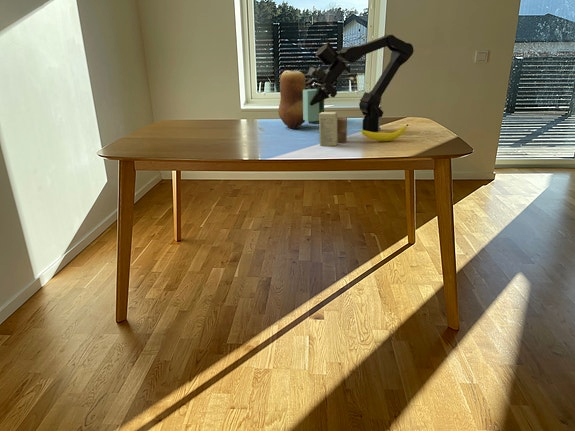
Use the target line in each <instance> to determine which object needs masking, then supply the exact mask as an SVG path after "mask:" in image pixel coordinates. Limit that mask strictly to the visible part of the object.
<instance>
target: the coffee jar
mask: <svg viewBox="0 0 575 431" xmlns="http://www.w3.org/2000/svg"><path fill="white" fill-rule="evenodd" d="M307 89H309V85H308V84H307ZM321 112H325V100H322V101H320V102H319V114H320V113H321ZM308 123H309V124H311V123H312V124H318V123H319V121H311V122H308Z"/></svg>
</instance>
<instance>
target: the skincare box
mask: <svg viewBox="0 0 575 431" xmlns="http://www.w3.org/2000/svg"><path fill="white" fill-rule="evenodd" d="M337 118H338V111H328V112H327V111H324V112H321V113H320V114H319V124H318V125H319V131H318V132H319V146H322V147H323V146H327V147H328V146H331V147H334V146H337V145H338V143H337Z"/></svg>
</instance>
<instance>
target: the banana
mask: <svg viewBox="0 0 575 431" xmlns="http://www.w3.org/2000/svg"><path fill="white" fill-rule="evenodd" d="M408 126H409V124H406V125H404V126H403V127H400V129H398V130H396V131H394V132H371V131H365V130H363V129H362V130H361V129H360V130H359V131H360V133H361V134H363V136H365V137H366V138H368V139H370V140H373V141H374V140H375V141H378V142H391V141H394V140H396V139H398V138H399V137H401V136H402V135H403V134H404V133H405V131H406V130H407V128H408Z"/></svg>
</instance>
